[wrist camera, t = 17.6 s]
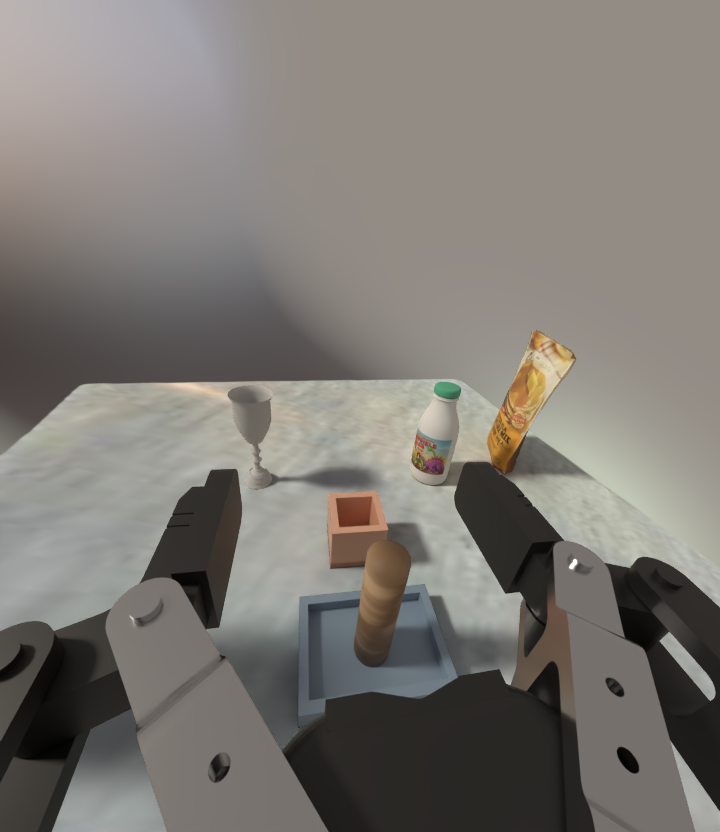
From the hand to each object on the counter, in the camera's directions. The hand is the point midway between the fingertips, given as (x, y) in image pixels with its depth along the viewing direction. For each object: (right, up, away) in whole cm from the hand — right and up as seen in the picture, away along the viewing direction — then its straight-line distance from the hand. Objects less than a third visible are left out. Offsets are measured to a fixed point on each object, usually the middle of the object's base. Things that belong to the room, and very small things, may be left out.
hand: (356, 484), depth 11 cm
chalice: (-19, -10, +48) cm, 53 cm away
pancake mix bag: (+34, -7, +63) cm, 72 cm away
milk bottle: (+14, -10, +54) cm, 57 cm away
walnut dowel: (+1, -23, +24) cm, 33 cm away
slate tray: (+1, -24, +24) cm, 34 cm away
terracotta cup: (-1, -17, +37) cm, 41 cm away
